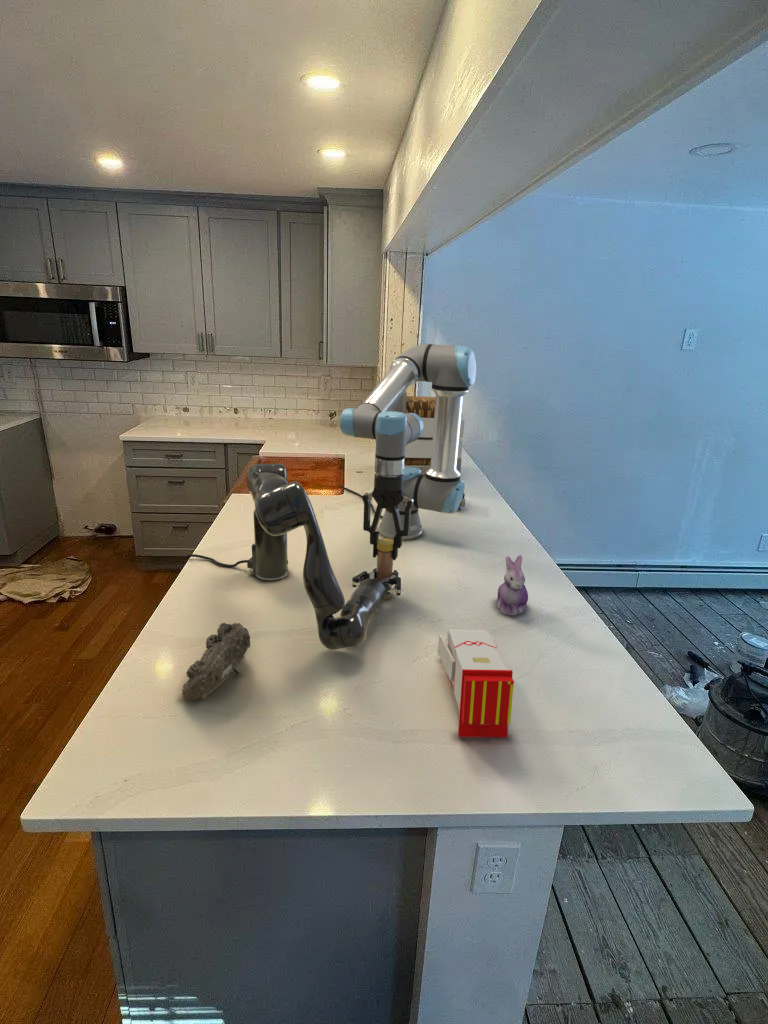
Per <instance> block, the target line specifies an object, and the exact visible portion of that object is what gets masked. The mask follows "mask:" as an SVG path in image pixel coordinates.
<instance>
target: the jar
mask: <svg viewBox="0 0 768 1024" xmlns="http://www.w3.org/2000/svg"><path fill="white" fill-rule="evenodd" d="M393 566H394V560H393V550H392V551H388V552H385V551H380V550H378V549H377V556H376V568H377V572H376V578H377V579H383V578H385V577H389V576H391V574H392V573H393V571H394V567H393ZM391 588H393V586H392V587H391ZM391 597H392V593H390V594H389V595H387V596H386V598H385V600H389V599H390V598H391Z"/></svg>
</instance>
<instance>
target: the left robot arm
mask: <svg viewBox="0 0 768 1024" xmlns="http://www.w3.org/2000/svg"><path fill="white" fill-rule="evenodd" d="M246 487H247V491H248V492H249V494H250V496H251V497H252V500H253V503H254V510H253V537H254V543H252V544H251V557H250V558H249V559H242V560H238V561H236V562H235V563H234V564H228V563H224V562H223V563H222V562H219V561H217V560H216V559H214V558H213V557H209V556H206V555H201V554H197V553H195V554H194V553H192V554H186V555H184V556H183V557H181V560H182V561H185V560H186V559H188V558H199V559H203V560H208V561H211V562H212V563H214V564H216V565H217V566H221V567H225V568H235V567H237V566H238V565H241V564H244V563H246V567H247V569H250V570H251V569H252V576H254V577H256V578H257V579H259V580H261V581H267V582H268V581H269V582H270V581H271V582H274V581H279V580H283V579H284V578H286V577H287V576H288V574H289V559H288V533H289V532H292V531H293V530H296V529H298V528H300V527H303V529H304V533H305V538H306V551H305V555H304V563H303V569H302V582H303V583H302V584H303V587H304V590H305V592H306V595H307V596H308V599H309V601H310V604H311V605H312V607H313V609H314V614H315V620H316V626H317V634H318V639H319V642H320V643H321V645H322V646H323V647H324V648H325V649H327V650H330V651H335V650H343V649H350V648H357V647H359V646H360V645H362V644H363V643H364V642H365V640H366V639H367V632H368V626H369V621H371V619H372V618H373V616H374V615H376V614H377V612H378V610H379V609H380V608H381V606H382V605H383V603H384V602H385V600H386V599H385V598H386V596H387V595H389V594H390V593H391V594H395V595H396V596H397V597H400V596H401V595H402V578H401V577H400V576H399V571H398V570H397V569H393V571H392V574H391V576H389V577H385V578H383V579H377V578H376V572H377V567H375V568H373V569H372V570H371V571H369V572H368V571H367V570H364V571H362V572H360V573H358V574H356V575H355V576H353V577H352V579H351V582H352V583H351V587H352V588H355V589H354V591H352V593H351V595H350V597H349V599H347V601H346V599H345V596H344V593H343V591H342V589H341V586H340V584H339V581H338V579H337V577H336V575H335V573H334V570H333V567H332V565H331V562H330V559H329V556H328V552H327V548H326V544H325V541H324V538H323V537H324V536H323V535H322V531H321V528H320V524H319V522H318V519H317V515H316V513H315V510H314V507H313V504H312V502H311V499H310V497H309V495H308V494H307V491H306V490H305V488H304V487H303V485H302V484H301V483H300V482H298V481H289V482H288V471H287V468H286V466H285V465H284V464H283V463H279V462H278V463H255V464H252V465H250V466H249V467H248V469H247V473H246ZM391 587H392V588H391ZM339 612H340V614H339V616H336V617H334V615H336V614H337V613H339Z"/></svg>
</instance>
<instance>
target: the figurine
mask: <svg viewBox="0 0 768 1024" xmlns="http://www.w3.org/2000/svg"><path fill="white" fill-rule="evenodd" d="M522 562H523V555H522V554H519V555H518V556H517V557H516V559H515V561H513V560H512V558H511V556H509V555H506V556H505V566H506V567H505V569H506V571H505V573H504V576H503V581H504V582H502V584H500V585H499V586H498V589H497V598H496V607H497V608H498V610H500V612H501V614H503V615H508V616H516V615H518V614H523V612H524V611H525V610H526V607H527V603H528V601H529V594H528V590H527V587H526V585H525V583H526V576H525V574H524V571H523V569H522V564H523V563H522Z"/></svg>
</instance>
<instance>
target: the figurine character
mask: <svg viewBox="0 0 768 1024" xmlns="http://www.w3.org/2000/svg"><path fill="white" fill-rule="evenodd" d="M465 496H466V494H465V493H464V494H463V498H462V501H461V503H460V505H459V507H458V509H457V510H458V511H461V510H462V509H461V508H465V505H466V497H465Z"/></svg>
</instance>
